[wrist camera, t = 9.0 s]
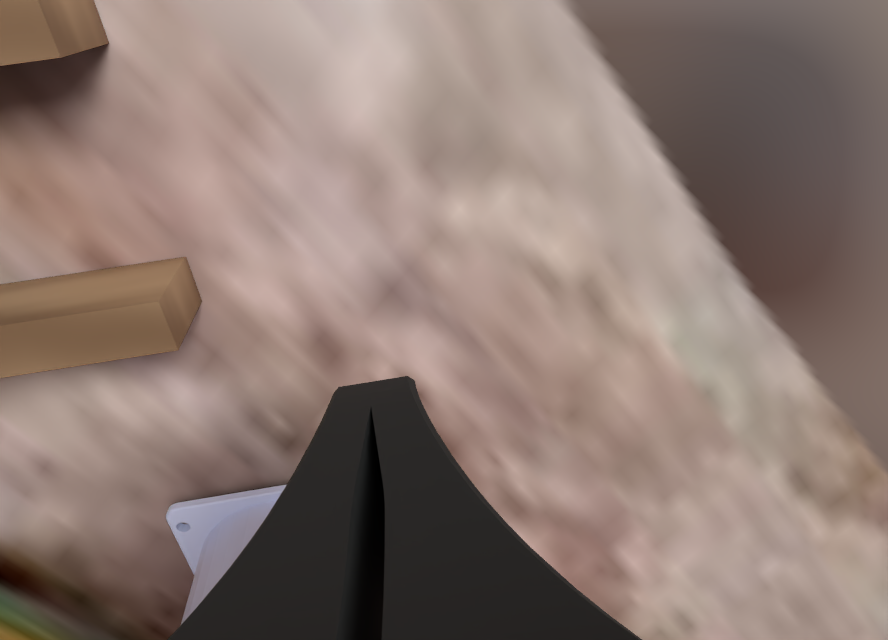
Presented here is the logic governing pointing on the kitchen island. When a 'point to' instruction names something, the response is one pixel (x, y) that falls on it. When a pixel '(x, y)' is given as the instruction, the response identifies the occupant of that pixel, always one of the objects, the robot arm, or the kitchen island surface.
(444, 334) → the kitchen island surface
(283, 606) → the robot arm
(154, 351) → the wooden pieces
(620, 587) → the kitchen island surface
